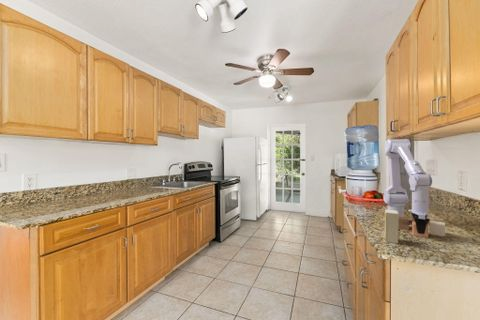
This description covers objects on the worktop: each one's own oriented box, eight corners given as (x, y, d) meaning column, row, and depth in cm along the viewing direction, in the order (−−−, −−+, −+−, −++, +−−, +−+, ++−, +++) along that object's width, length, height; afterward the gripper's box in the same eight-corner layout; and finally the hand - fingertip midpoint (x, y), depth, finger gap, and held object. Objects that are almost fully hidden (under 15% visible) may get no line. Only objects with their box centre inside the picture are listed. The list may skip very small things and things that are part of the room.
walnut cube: (393, 225, 109) (393, 215, 109) (405, 226, 107) (405, 216, 107) (396, 228, 104) (395, 218, 104) (408, 229, 102) (408, 219, 102)
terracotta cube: (412, 232, 99) (412, 221, 99) (426, 234, 96) (426, 223, 96) (413, 235, 95) (413, 224, 95) (428, 237, 92) (428, 226, 92)
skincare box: (384, 237, 93) (384, 209, 93) (397, 239, 91) (397, 210, 91) (385, 242, 88) (385, 212, 87) (398, 244, 85) (398, 213, 85)
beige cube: (430, 231, 100) (430, 220, 100) (444, 233, 97) (444, 222, 97) (429, 234, 96) (429, 223, 96) (445, 236, 93) (445, 225, 93)
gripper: (407, 197, 104) (407, 225, 104) (409, 202, 92) (409, 234, 92) (426, 199, 100) (426, 228, 100) (431, 204, 88) (431, 238, 88)
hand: (420, 231), depth 95 cm, fingers closed on terracotta cube, 5 cm apart
